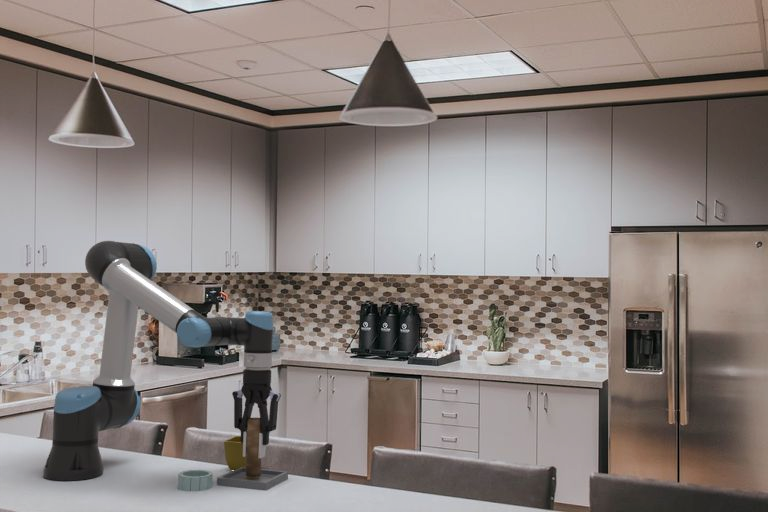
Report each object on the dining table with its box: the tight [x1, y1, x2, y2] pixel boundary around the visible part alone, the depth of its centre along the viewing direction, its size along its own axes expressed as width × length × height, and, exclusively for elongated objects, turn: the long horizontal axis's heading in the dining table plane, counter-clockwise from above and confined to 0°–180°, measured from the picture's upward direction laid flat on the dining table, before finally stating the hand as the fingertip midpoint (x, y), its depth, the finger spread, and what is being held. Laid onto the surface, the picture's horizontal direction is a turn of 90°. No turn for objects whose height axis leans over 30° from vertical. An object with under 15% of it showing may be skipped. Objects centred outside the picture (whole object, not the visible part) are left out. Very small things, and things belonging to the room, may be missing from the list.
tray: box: [216, 467, 289, 491], centre depth 206 cm, size 14×14×2 cm
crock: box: [177, 469, 214, 492], centre depth 199 cm, size 8×8×4 cm
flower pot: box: [223, 435, 246, 471], centre depth 222 cm, size 9×9×9 cm
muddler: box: [246, 417, 262, 477], centre depth 206 cm, size 4×4×15 cm
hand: (254, 456), depth 206 cm, fingers closed on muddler, 4 cm apart
